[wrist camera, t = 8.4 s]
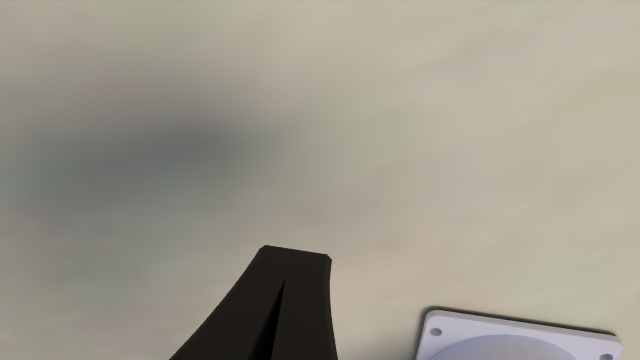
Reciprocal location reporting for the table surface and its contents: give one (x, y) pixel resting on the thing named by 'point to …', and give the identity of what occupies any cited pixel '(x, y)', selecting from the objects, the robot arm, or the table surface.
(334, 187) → the table surface
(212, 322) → the robot arm
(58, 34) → the table surface
